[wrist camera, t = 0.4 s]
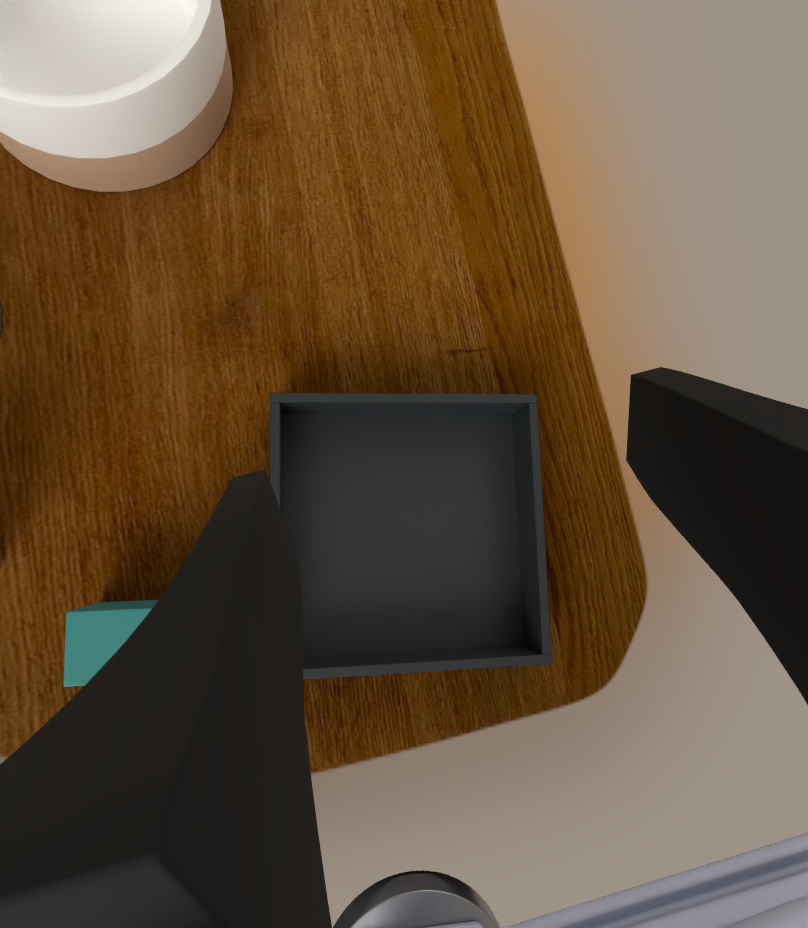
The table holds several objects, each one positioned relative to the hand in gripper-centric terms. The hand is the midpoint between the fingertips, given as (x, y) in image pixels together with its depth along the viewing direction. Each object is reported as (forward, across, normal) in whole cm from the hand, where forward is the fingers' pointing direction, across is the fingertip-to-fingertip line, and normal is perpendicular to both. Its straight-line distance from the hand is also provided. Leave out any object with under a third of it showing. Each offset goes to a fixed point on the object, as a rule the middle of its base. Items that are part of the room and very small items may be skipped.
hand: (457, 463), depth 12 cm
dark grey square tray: (+22, 0, +20) cm, 30 cm away
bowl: (+44, +12, -8) cm, 46 cm away
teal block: (+19, +17, +21) cm, 33 cm away
